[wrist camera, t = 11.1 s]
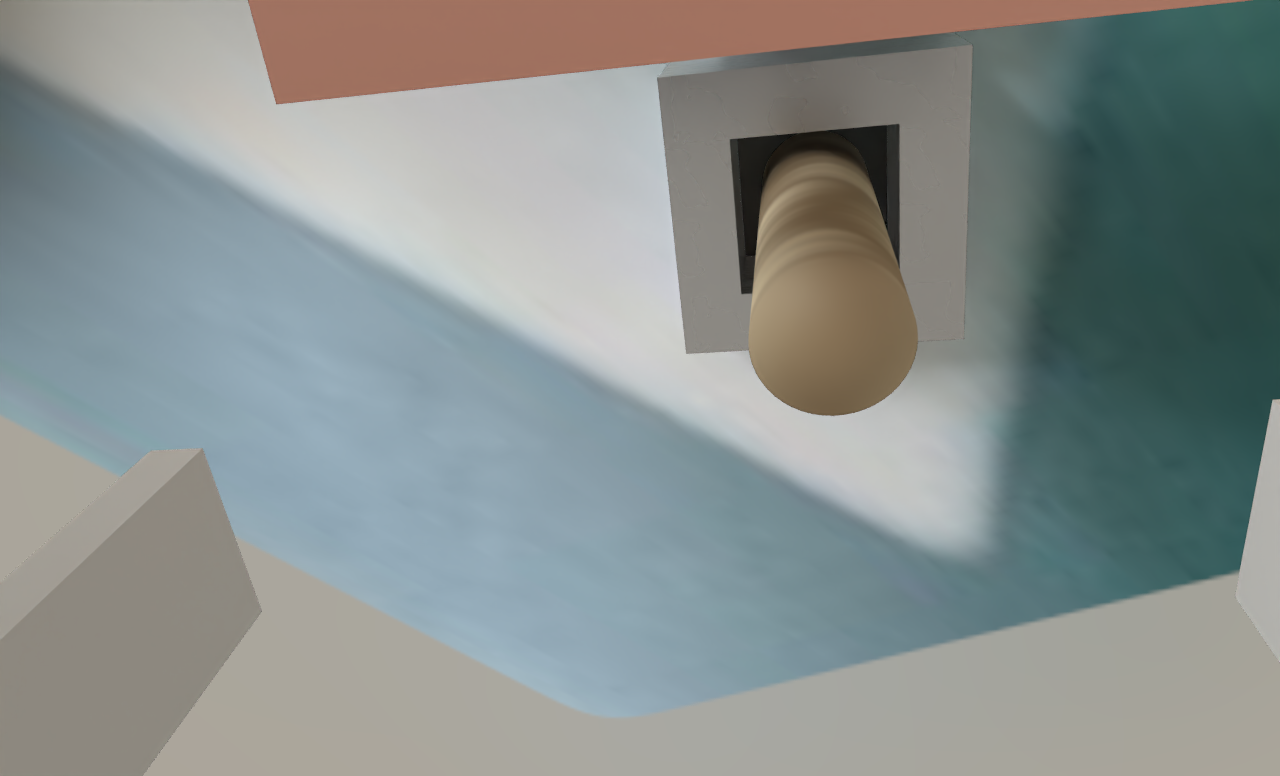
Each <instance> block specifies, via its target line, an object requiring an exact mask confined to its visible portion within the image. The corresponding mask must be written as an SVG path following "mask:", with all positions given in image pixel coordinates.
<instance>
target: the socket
mask: <svg viewBox="0 0 1280 776" xmlns="http://www.w3.org/2000/svg"><path fill="white" fill-rule="evenodd" d="M972 54H973V45H972V44H971V43H969V42H968V41H966V40H965V39H963V38H962V37H960V36H959V35H957V34H956V33H954V32H949V33H940V34H930V35H921V36H912V37H902V38H893V39H884V40H874V41H865V42H855V43H846V44H837V45H827V46H818V47H809V48H799V49H790V50H781V51H771V52H762V53H752V54H743V55H734V56H724V57H715V58H706V59H696V60H687V61H677V62H670V63H669V64H668V65H667V66H666V68H665V69H664V70H663V71H662V72H661V74H660V75H659V76H658V77H657V80H658V89H659V99H660V108H661V118H662V127H663V137H664V146H665V156H666V165H667V175H668V184H669V194H670V203H671V213H672V222H673V232H674V241H675V251H676V261H677V270H678V280H679V289H680V299H681V308H682V318H683V327H684V337H685V346H686V354H689V353H708V352H727V351H746V350H749V326H750V315H751V303H752V292H753V281H754V270H755V259H756V255H750V256H746V251H745V238H744V224H743V210H742V196H741V182H740V169H739V155H738V141H737V139H738V138H749V137H760V136H771V135H782V134H793V133H804V132H815V131H825V130H836V129H847V128H858V127H869V126H880V125H887V232H888V236H889V239H890V242H891V245H892V248H893V251H894V254H895V257H896V260H897V263H898V266H899V269H900V272H901V275H902V278H903V282H904V285H905V288H906V291H907V294H908V297H909V300H910V303H911V306H912V309H913V312H914V315H915V318H916V323H917V328H918V341H934V340H953V339H964V318H965V285H966V252H967V219H968V186H969V153H970V120H971V87H972Z"/></svg>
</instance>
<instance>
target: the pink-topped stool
mask: <svg viewBox="0 0 1280 776" xmlns="http://www.w3.org/2000/svg"><path fill="white" fill-rule="evenodd" d="M1240 1H1249V0H248V2H249V6H250V9H251V13H252V17H253V20H254V24H255V28H256V31H257V35H258V39H259V42H260V46H261V50H262V53H263V57H264V61H265V64H266V68H267V72H268V76H269V79H270V83H271V87H272V90H273V94H274V98H275V101H276V104H284V103H293V102H303V101H312V100H321V99H331V98H340V97H349V96H359V95H368V94H378V93H387V92H396V91H406V90H415V89H424V88H434V87H443V86H453V85H462V84H471V83H481V82H490V81H499V80H509V79H518V78H528V77H537V76H546V75H556V74H565V73H574V72H584V71H593V70H602V69H612V68H621V67H631V66H640V65H649V64H659V63H668V62H677V61H687V60H696V59H706V58H715V57H724V56H734V55H743V54H752V53H762V52H771V51H781V50H790V49H799V48H809V47H818V46H827V45H837V44H846V43H855V42H865V41H874V40H884V39H893V38H902V37H912V36H921V35H930V34H940V33H949V32H959V31H968V30H977V29H987V28H996V27H1005V26H1015V25H1024V24H1034V23H1043V22H1052V21H1062V20H1071V19H1080V18H1090V17H1099V16H1109V15H1118V14H1127V13H1137V12H1146V11H1155V10H1165V9H1174V8H1183V7H1193V6H1202V5H1212V4H1221V3H1230V2H1240Z"/></svg>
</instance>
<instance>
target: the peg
mask: <svg viewBox="0 0 1280 776" xmlns="http://www.w3.org/2000/svg"><path fill="white" fill-rule="evenodd" d="M917 344H918V328H917V323H916V318H915V315H914V312H913V309H912V306H911V303H910V300H909V297H908V294H907V291H906V288H905V285H904V282H903V278H902V275H901V272H900V269H899V266H898V263H897V260H896V257H895V254H894V251H893V248H892V245H891V242H890V239H889V236H888V232H887V229H886V226H885V223H884V220H883V217H882V214H881V211H880V208H879V205H878V202H877V199H876V196H875V193H874V189H873V186H872V183H871V180H870V177H869V174H868V171H867V168H866V165H865V162H864V159H863V158H862V156H861V154H860V152H859V151H858V150H857V148H856V147H855V146H854V145H853V144H852V143H851V142H850V141H848V140H847V139H846V138H844V137H842V136H840V135H838V134H836V133H833V132H829V131H815V132H804V133H799V134H797V135H794V136H792V137H790V138H789V139H787V140H786V141H784V142H783V143H782V144H780V145H779V146H778V147H777V148H776V150H775V151H774V152H773V153H772V155H771V156H770V158H769V160H768V162H767V164H766V166H765V170H764V173H763V180H762V191H761V203H760V214H759V225H758V236H757V247H756V259H755V270H754V281H753V292H752V303H751V315H750V326H749V353H750V358H751V361H752V365H753V367H754V369H755V371H756V374H757V375H758V377H759V379H760V380H761V382H762V383H763V384H764V385H765V387H766V388H767V389H768V390H769V391H770V392H771V393H772V394H773V395H774V396H775V397H777V398H778V399H779V400H781V401H782V402H784V403H786V404H787V405H789V406H791V407H793V408H796V409H798V410H801V411H804V412H807V413H811V414H817V415H830V416H834V415H845V414H850V413H855V412H858V411H861V410H864V409H866V408H869V407H871V406H873V405H875V404H877V403H878V402H880V401H882V400H883V399H885V398H886V397H887V396H888V395H890V394H891V393H892V392H893V391H894V390H895V389H896V388H897V387H898V386H899V385H900V384H901V382H902V381H903V380H904V378H905V377H906V375H907V374H908V372H909V370H910V368H911V366H912V364H913V361H914V359H915V355H916V351H917Z"/></svg>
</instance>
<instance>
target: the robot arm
mask: <svg viewBox="0 0 1280 776" xmlns="http://www.w3.org/2000/svg"><path fill="white" fill-rule="evenodd" d="M1235 598H1236V599H1237V601H1238V602H1239V604H1240V605H1241V607H1242V608H1243V609H1244V611H1245V612H1246V614H1247V615H1248V617H1249V618H1250V620H1251V621H1252V623H1253V624H1254V626H1255V627H1256V629H1257V630H1258V632H1259V633H1260V635H1261V636H1262V638H1263V639H1264V640H1265V642H1266V643H1267V645H1268V646H1269V648H1270V649H1271V651H1272V652H1273V654H1274V655H1275V657H1276V658H1277V660H1278V661H1279V663H1280V399H1277V400H1273V401H1272V406H1271V411H1270V416H1269V422H1268V427H1267V432H1266V437H1265V442H1264V448H1263V453H1262V458H1261V463H1260V468H1259V474H1258V479H1257V484H1256V489H1255V494H1254V500H1253V505H1252V510H1251V515H1250V520H1249V526H1248V531H1247V536H1246V541H1245V546H1244V552H1243V557H1242V562H1241V567H1240V572H1239V578H1238V583H1237V588H1236V593H1235ZM261 612H262V610H261V607H260V604H259V602H258V599H257V596H256V593H255V591H254V588H253V585H252V582H251V580H250V577H249V574H248V571H247V569H246V566H245V563H244V561H243V558H242V555H241V552H240V550H239V547H238V544H237V541H236V539H235V536H234V533H233V530H232V528H231V525H230V522H229V520H228V517H227V514H226V511H225V509H224V506H223V503H222V500H221V498H220V495H219V492H218V489H217V487H216V484H215V481H214V479H213V476H212V473H211V470H210V468H209V465H208V462H207V459H206V457H205V454H204V451H203V448H199V449H177V450H155V451H150V452H149V453H148V454H146V455H145V456H144V457H143V458H142V459H141V460H140V461H138V462H137V463H136V464H135V465H134V466H133V467H132V468H130V469H129V470H128V471H127V472H126V473H125V474H124V475H122V476H121V477H120V478H119V479H118V480H117V481H116V482H114V483H113V484H112V485H111V486H110V487H109V488H108V489H107V490H105V491H104V492H103V493H102V494H101V495H100V496H98V497H97V498H96V499H95V500H94V501H93V502H92V503H90V504H89V505H88V506H87V507H86V508H85V509H83V510H82V511H81V512H80V513H79V514H78V515H77V516H75V517H74V518H73V519H72V520H71V521H70V522H68V523H67V524H66V525H65V526H64V527H63V528H62V529H61V530H59V531H58V532H57V533H56V534H55V535H54V536H52V537H51V538H50V539H49V540H48V541H47V542H46V543H44V544H43V545H42V546H41V547H40V548H39V549H38V550H36V551H35V552H34V553H33V554H32V555H31V556H30V557H28V558H27V559H26V560H25V561H24V562H23V563H22V564H21V565H19V566H18V567H17V568H16V569H15V570H13V571H12V572H11V573H10V574H9V575H8V576H7V577H6V578H4V579H3V580H2V581H1V582H0V776H143V775H144V773H145V772H146V771H147V769H148V768H149V767H150V765H151V764H152V762H153V761H154V760H155V758H156V757H157V755H158V754H159V753H160V751H161V750H162V749H163V747H164V746H165V744H166V743H167V742H168V740H169V739H170V738H171V736H172V735H173V733H174V732H175V730H176V729H177V728H178V727H179V725H180V724H181V722H182V721H183V719H184V718H185V717H186V715H187V714H188V713H189V711H190V710H191V709H192V707H193V706H194V704H195V703H196V702H197V700H198V699H199V698H200V696H201V695H202V693H203V692H204V691H205V689H206V688H207V686H208V685H209V684H210V682H211V681H212V680H213V678H214V677H215V675H216V674H217V673H218V671H219V670H220V669H221V667H222V666H223V664H224V663H225V662H226V660H227V659H228V658H229V656H230V655H231V653H232V652H233V651H234V649H235V648H236V646H237V645H238V643H239V642H240V641H241V640H242V638H243V637H244V635H245V634H246V633H247V631H248V630H249V629H250V627H251V626H252V624H253V623H254V622H255V620H256V619H257V618H258V616H259V615H260V613H261Z"/></svg>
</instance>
